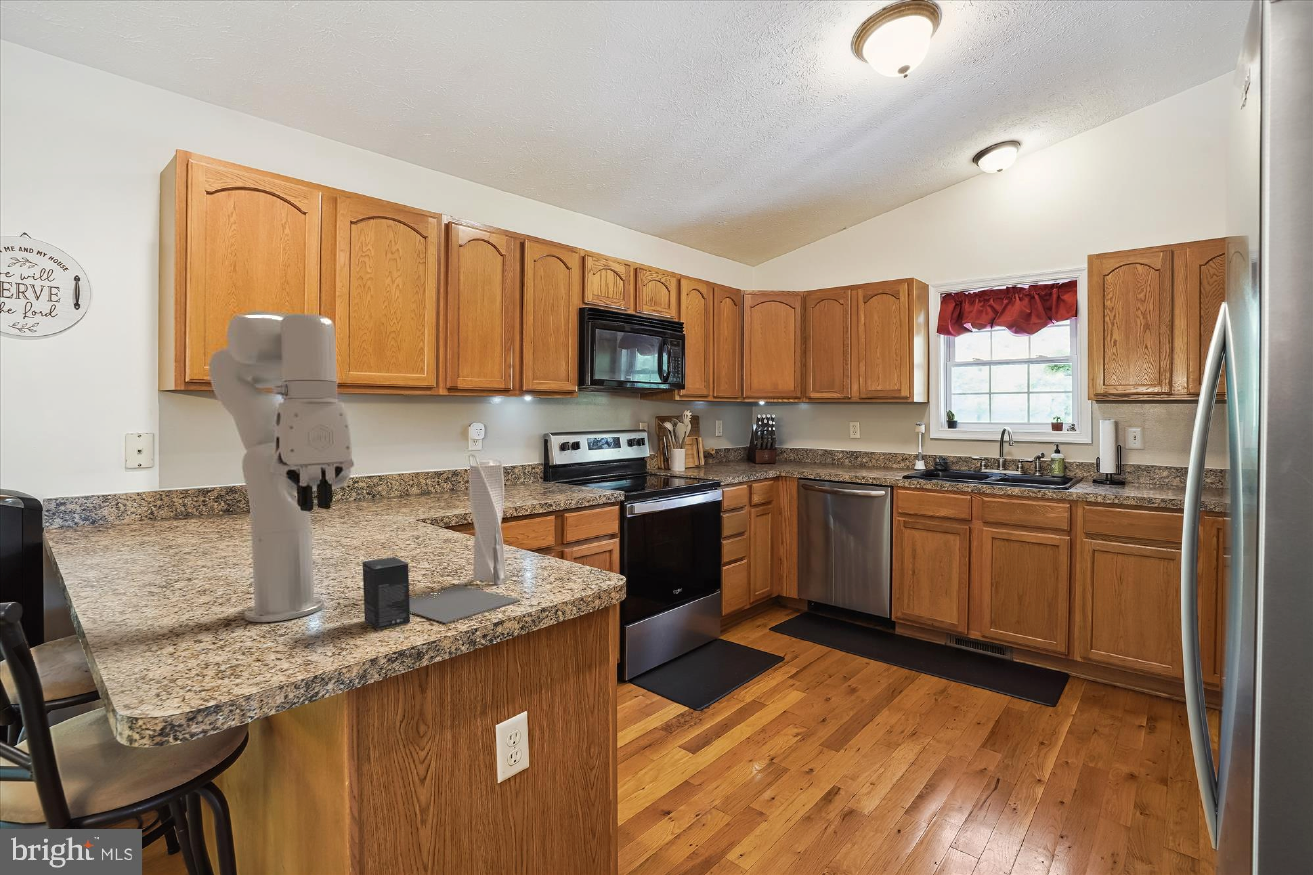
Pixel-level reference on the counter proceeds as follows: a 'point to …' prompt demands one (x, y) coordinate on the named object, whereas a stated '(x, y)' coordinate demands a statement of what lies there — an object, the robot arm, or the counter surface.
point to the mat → (457, 603)
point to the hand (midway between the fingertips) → (315, 508)
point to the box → (386, 592)
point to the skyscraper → (487, 520)
